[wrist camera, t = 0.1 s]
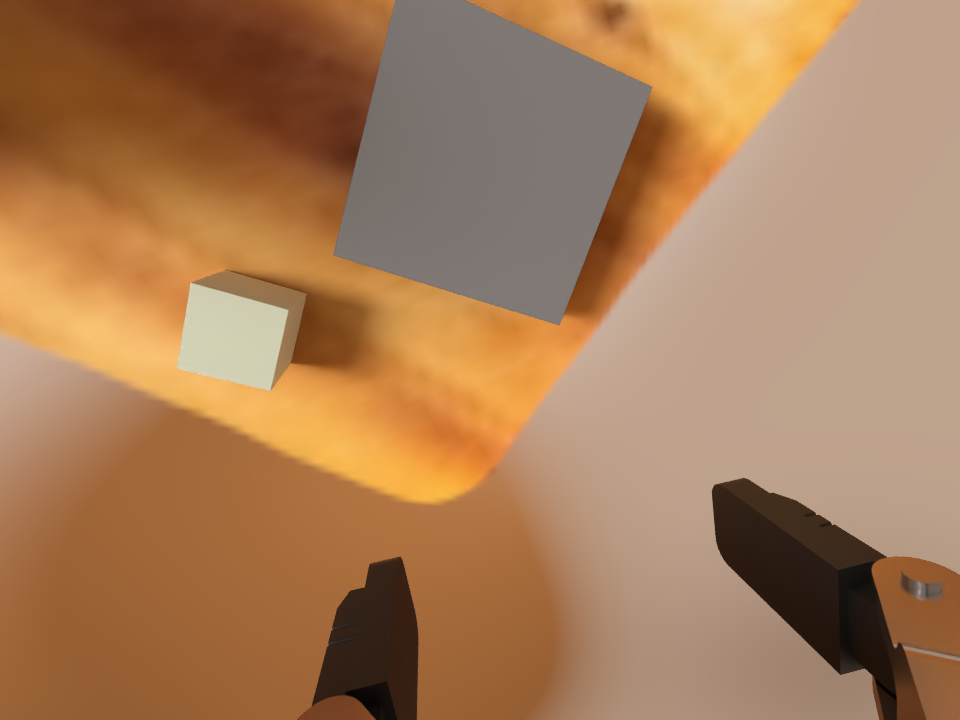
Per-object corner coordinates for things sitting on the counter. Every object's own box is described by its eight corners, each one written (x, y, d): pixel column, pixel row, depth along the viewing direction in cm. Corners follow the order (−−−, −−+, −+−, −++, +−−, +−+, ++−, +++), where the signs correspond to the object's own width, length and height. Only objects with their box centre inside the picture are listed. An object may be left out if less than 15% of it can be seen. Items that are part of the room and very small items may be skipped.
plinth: (403, 4, 26) (402, -29, 22) (621, 101, 29) (652, 86, 26) (343, 248, 30) (333, 255, 26) (542, 311, 33) (559, 325, 29)
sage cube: (226, 269, 29) (190, 282, 25) (307, 293, 30) (288, 309, 26) (212, 343, 31) (176, 368, 26) (291, 362, 32) (270, 391, 27)
